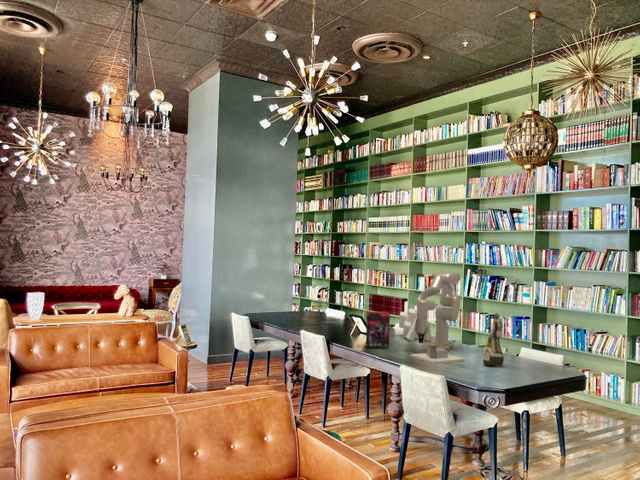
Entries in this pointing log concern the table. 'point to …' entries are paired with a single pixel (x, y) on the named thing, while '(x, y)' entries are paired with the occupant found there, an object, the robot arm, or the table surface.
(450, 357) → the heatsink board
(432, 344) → the bar
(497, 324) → the statue
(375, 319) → the graphics card box
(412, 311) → the pile of blocks
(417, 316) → the robot arm
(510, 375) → the table surface
